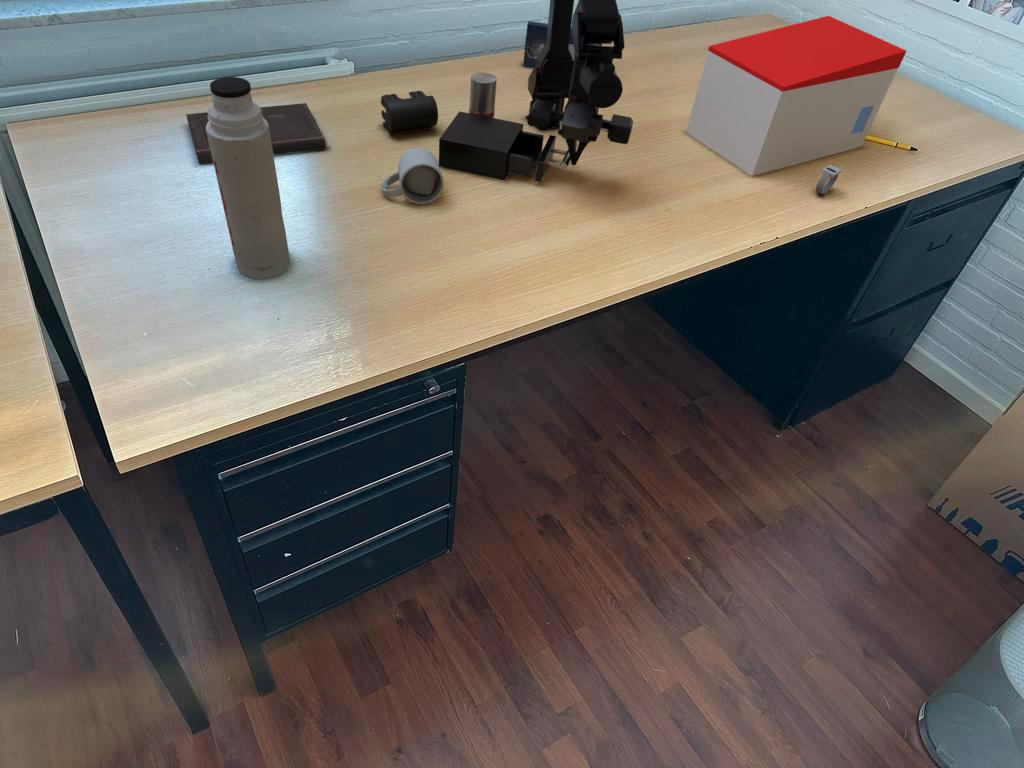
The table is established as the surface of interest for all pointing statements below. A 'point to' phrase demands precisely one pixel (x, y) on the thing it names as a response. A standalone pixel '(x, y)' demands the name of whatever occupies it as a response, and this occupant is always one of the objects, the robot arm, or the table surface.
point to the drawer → (534, 155)
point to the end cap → (409, 112)
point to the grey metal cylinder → (483, 94)
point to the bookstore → (792, 93)
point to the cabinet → (478, 145)
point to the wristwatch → (827, 172)
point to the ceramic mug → (416, 177)
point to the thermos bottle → (247, 179)
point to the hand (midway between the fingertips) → (573, 164)
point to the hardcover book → (286, 126)
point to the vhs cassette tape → (539, 42)
